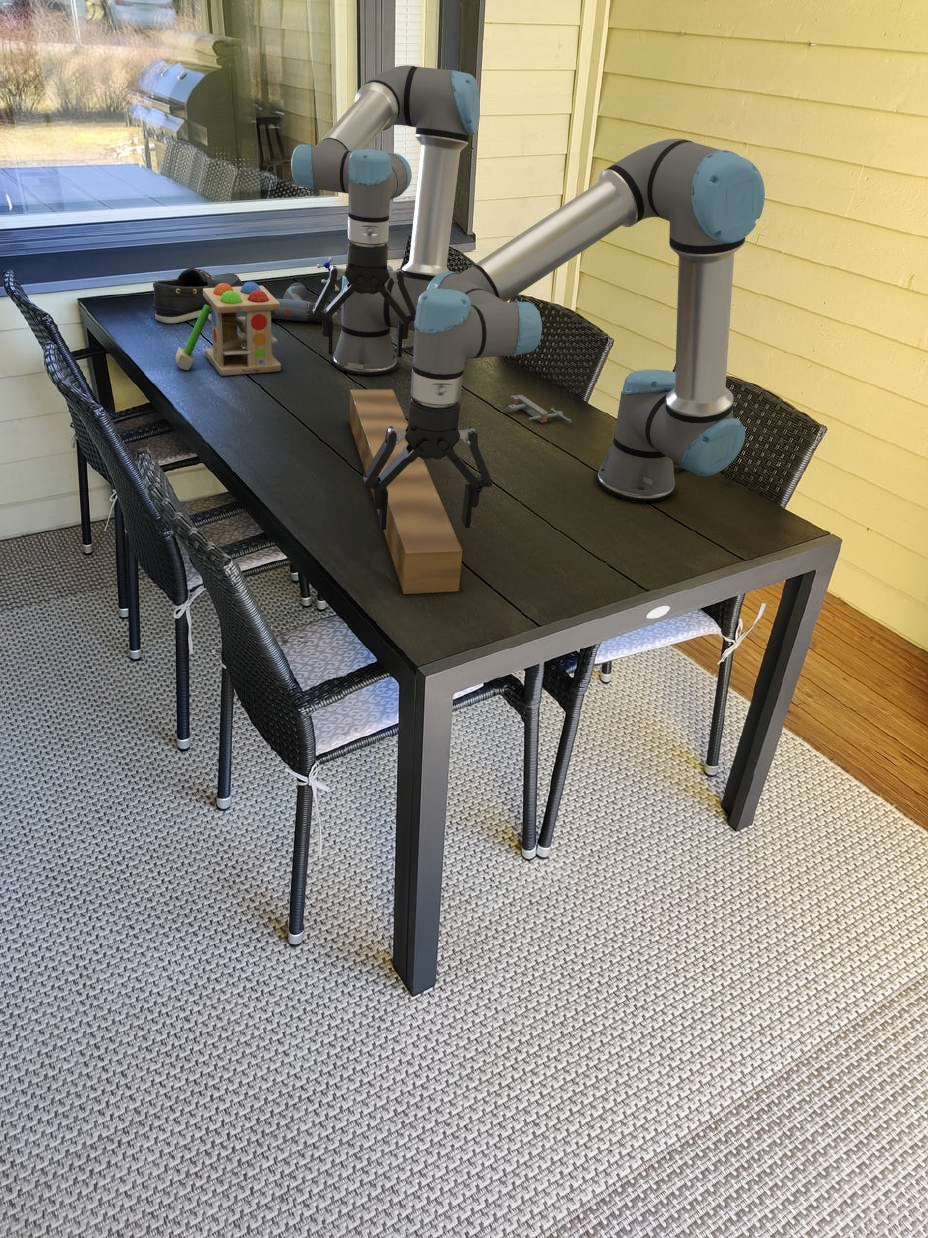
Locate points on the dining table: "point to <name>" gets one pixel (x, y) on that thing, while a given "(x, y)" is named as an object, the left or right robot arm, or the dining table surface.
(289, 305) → the power drill
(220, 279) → the boat shoe
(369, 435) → the wide beam
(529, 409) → the clamp
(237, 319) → the pounding bench toy
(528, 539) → the dining table surface
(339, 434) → the dining table surface
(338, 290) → the molecular model
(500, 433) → the dining table surface
